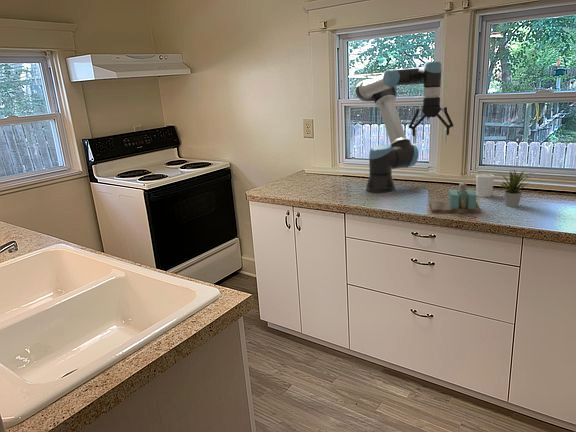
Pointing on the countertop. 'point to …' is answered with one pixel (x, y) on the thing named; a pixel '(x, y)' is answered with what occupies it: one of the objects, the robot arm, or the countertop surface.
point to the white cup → (484, 185)
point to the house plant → (513, 189)
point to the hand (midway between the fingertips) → (430, 142)
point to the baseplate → (445, 208)
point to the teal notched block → (456, 197)
